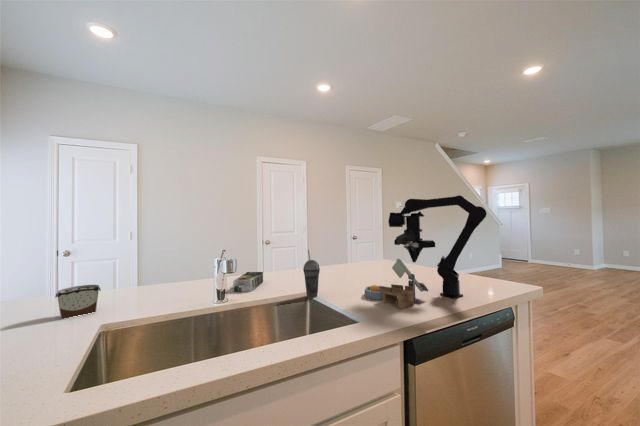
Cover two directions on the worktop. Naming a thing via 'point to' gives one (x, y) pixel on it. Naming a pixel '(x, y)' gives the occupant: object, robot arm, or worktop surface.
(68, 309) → the food container
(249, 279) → the juice carton
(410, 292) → the ramp
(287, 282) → the worktop surface
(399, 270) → the lever
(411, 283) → the lever post
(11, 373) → the worktop surface
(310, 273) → the beverage cup
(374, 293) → the bowl
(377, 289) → the ball
